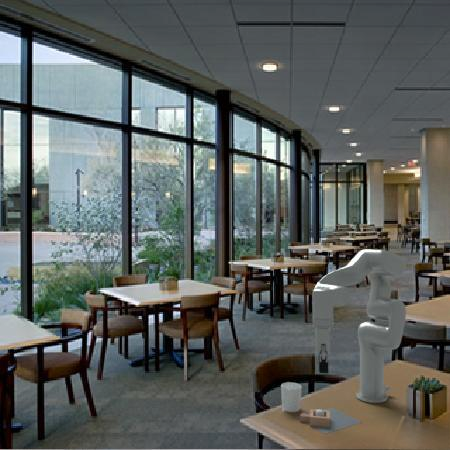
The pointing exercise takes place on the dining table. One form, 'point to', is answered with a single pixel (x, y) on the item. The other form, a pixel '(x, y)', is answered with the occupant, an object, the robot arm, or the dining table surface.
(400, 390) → the dining table surface
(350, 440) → the dining table surface
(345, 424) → the board
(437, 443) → the dining table surface
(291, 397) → the white cup
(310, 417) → the square frame with tab
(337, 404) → the dining table surface
